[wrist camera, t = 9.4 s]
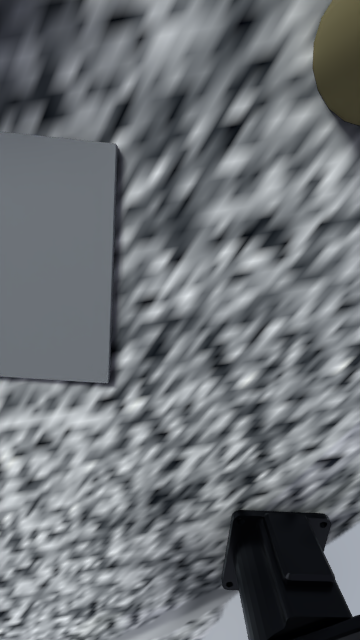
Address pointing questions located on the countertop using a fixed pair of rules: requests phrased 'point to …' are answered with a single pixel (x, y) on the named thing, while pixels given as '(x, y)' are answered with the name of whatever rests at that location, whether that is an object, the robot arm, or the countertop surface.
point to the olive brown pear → (339, 59)
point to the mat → (56, 257)
